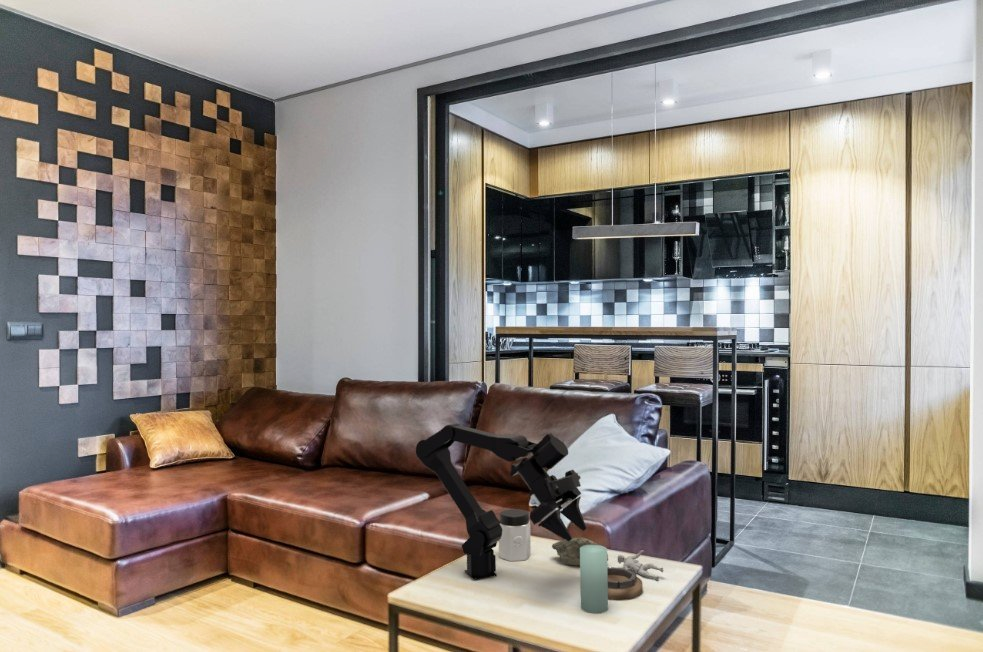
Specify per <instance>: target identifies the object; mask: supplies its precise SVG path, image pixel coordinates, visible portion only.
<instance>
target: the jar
mask: <svg viewBox="0 0 983 652" xmlns="http://www.w3.org/2000/svg"><path fill="white" fill-rule="evenodd" d="M499 521H500V522H501V523H500V525H501V527H502V530H503V531H502V536H501V539H500V540H499V541H498V557H499V559H502V560H505V561H508V562H519V561H527V560H528V559H529V558H530V556H531V552H532V551H531V548H532V547H531V520H530V512H529V511H528V510H524V509H519V508H515V509H514V508H512V509H511V508H510V509H504V510H501V511H500V512H499Z"/></svg>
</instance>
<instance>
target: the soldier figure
mask: <svg viewBox="0 0 983 652" xmlns="http://www.w3.org/2000/svg"><path fill="white" fill-rule="evenodd" d="M643 552H644V550H643V549H642V550H639V552H638V553H636V554H633V555H629V556H627V557H625V555H622V554H618V556H617V563H618V564H619V565H621V563H623V565H622V566H623V568H624V569H625V570H626V569H628V570H630V571H632V572H634V573H636V575H639V574H640V575H639V576H643V577H646V578H647V579H648V578H651V579H655V580H657V581H659V580H658V579H660V577H659V576H658V575H653V574H651V573H650V572H649V571H648V570H650V569H652V570H656V571H660V572H661V573H663V572H664V568H663V567H662V566H661V567H658V566H657V565H655V564H654V563H651V562H650V563H645V564H643V563H641V562H639V560H637V559H638V558H639V557H641V555H642V553H643Z"/></svg>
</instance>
